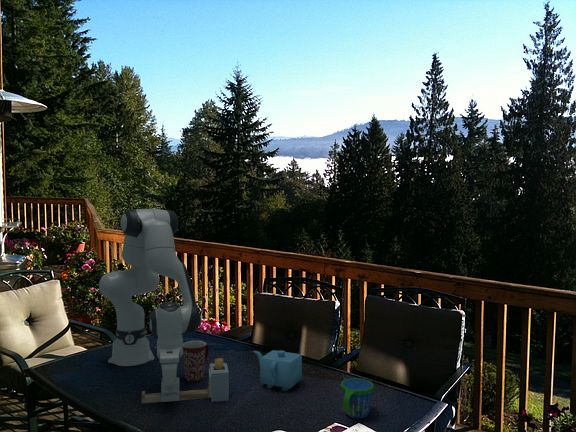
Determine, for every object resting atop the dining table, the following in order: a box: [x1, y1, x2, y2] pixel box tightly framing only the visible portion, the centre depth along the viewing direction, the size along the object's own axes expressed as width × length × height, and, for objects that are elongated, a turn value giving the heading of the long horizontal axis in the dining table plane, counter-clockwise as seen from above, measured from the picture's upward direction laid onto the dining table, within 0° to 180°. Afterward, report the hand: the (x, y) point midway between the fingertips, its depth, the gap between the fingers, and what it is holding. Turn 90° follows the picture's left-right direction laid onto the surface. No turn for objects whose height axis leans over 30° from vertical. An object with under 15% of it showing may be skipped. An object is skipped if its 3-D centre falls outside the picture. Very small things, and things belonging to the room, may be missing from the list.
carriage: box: [160, 376, 180, 403], centre depth 183 cm, size 5×6×6 cm
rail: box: [141, 386, 211, 404], centre depth 184 cm, size 3×24×3 cm, turn 101°
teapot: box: [252, 350, 303, 392], centre depth 197 cm, size 18×16×13 cm
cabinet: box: [208, 362, 230, 403], centre depth 186 cm, size 10×6×10 cm, turn 11°
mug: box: [182, 340, 210, 383], centre depth 205 cm, size 13×9×14 cm
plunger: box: [214, 357, 224, 370], centre depth 186 cm, size 3×3×5 cm
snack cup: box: [340, 377, 375, 419], centre depth 171 cm, size 16×10×10 cm
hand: (170, 389), depth 183 cm, fingers closed on carriage, 5 cm apart
